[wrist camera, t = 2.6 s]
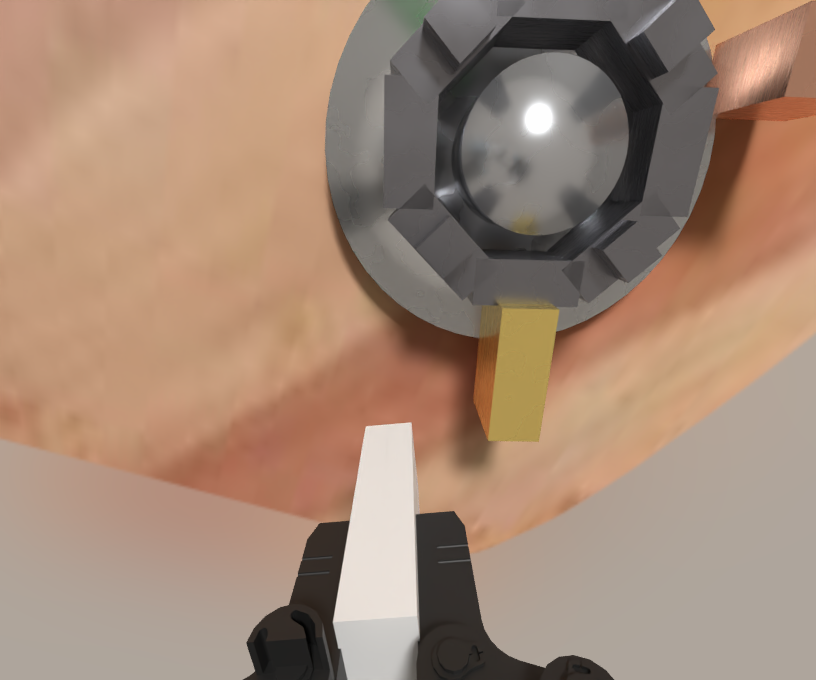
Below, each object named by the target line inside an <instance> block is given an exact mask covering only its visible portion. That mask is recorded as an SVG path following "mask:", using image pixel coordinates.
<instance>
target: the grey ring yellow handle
mask: <svg viewBox="0 0 816 680" xmlns="http://www.w3.org/2000/svg"><path fill="white" fill-rule="evenodd" d="M714 30H715V29H714V27H713V25H712V23H711V21H710V20H709V18H708V16H707V14H706V13H705V11H704V9H703V7H702V6H701V4H700V2H699V0H439V1H438V2H437V3H436V4H435V5H434V6H433V7H432V9H431V10H430V11H429V12H428V13H427V14H426V15H425V16H424V21H423V24H422V25H421V26H420V27H419V28H418V29H417V30H416V31H415V32H414V34H413V35H412V36H411V37H410V38H409V39H408V40H407V41H406V42H405V44H404V45H403V46H402V47H401V48H400V49H399V50H398V51H397V52H396V54H395V55H394V56H393V57H392V58H391V59H390V71H391V75H384V185H383V208H397V209H396V210H395V211H394V212H393V213H392V214H391V215H390V216H389V218H388V221H389V222H390V223H391V224H392V225H393V226H394V227H395V228H396V230H397V231H398V232H399V233H400V234H401V235H402V236H403V237H404V238H405V239H406V240H407V241H408V243H409V244H410V245H411V246H412V247H413V248H414V249H415V250H416V251H417V252H418V253H419V254H420V255H421V257H422V258H423V259H424V260H425V261H426V262H427V263H428V264H429V265H430V266H431V267H432V268H433V270H434V271H435V272H436V273H437V274H438V275H439V276H440V277H441V278H442V279H443V280H444V281H445V282H446V284H447V285H448V286H449V287H450V288H451V289H452V290H453V291H454V292H455V293H456V294H457V295H458V297H459V298H460V299H461V300H462V301H463V300H464V299H465V298H466V297H468V299H469V300H470V302H471V303H472V305H482V311H481V322H480V333H479V344H478V354H477V365H476V376H475V387H474V398H473V401H474V404H475V407H476V409H477V412H478V415H479V418H480V420H481V423H482V426H483V429H484V431H485V434H486V437H487V440H488V441H533V442H539V437H540V431H541V424H542V418H543V412H544V405H545V399H546V393H547V386H548V380H549V374H550V367H551V361H552V354H553V348H554V342H555V335H556V329H557V323H558V316H559V309H558V308H557V307H578V301H579V298H580V299H581V300H583V301H585V302H587V303H588V304H589V303H590V302H591V301H592V300H594V299H595V298H596V297H597V296H598V295H600V294H601V293H602V292H603V291H605V290H606V289H607V288H608V287H609V286H611V285H612V284H613V283H614V282H616V281H617V280H618V279H619V280H621V281H624V282H626V283H629V282H630V281H632V280H633V279H634V278H635V277H637V276H638V275H639V274H640V273H642V272H643V271H644V270H645V269H647V268H648V267H649V266H650V265H651V264H653V263H654V262H655V261H656V260H658V259H659V258H660V257H661V256H662V255H661V253H660V252H659V250H658V249H657V247H658V246H660V245H661V244H662V243H663V242H665V241H666V240H667V239H668V238H669V237H671V236H672V235H673V234H674V233H676V232H677V231H678V230H679V229H680V227H679V226H678V225H677V223H676V222H675V220H674V219H673V217H688V214H689V209H690V205H691V201H692V197H693V193H694V189H695V185H696V181H697V177H698V173H699V169H700V165H701V161H702V157H703V153H704V148H705V144H706V140H707V136H708V132H709V128H710V124H711V120H712V116H713V112H714V108H715V104H716V100H717V96H718V92H719V88H711V87H703V86H704V85H705V84H706V83H708V82H709V81H710V80H711V79H712V78H713V77H714V76H715V75H717V74H718V72H717V71H716V69H715V67H714V66H713V64H712V62H711V60H710V59H709V57H708V55H707V53H706V52H705V50H704V48H703V47H702V45H701V42H702V41H703V40H704V39H705V38H706V37H707V36H709V35H710V34H711V33H712V32H713V31H714ZM493 47H503V48H526V49H550V50H574V51H575V52H576V53H577V55H578V56H579V57H581V58H583V59H586V60H588V61H590V62H591V63H593V64H594V65H596V66H597V67H599V68H600V69H601V70H602V71H603V72H604V73H605V74H606V75H607V76H608V77H609V78H610V79H611V81H612V82H613V83H614V85H615V86H616V88H617V90H618V92H619V93H620V95H621V98H622V100H623V103H624V106H625V110H626V114H627V118H628V127H629V141H628V149H627V155H626V159H625V163H624V166H623V169H622V172H621V174H620V177H619V179H618V181H617V183H616V185H615V187H614V188H613V190H612V191H611V193H610V194H609V196H608V197H607V198H606V200H605V201H604V202H603V203H602V205H601V206H600V207H599V208H598V209H597V210H596V211H595V212H593V213H592V214H591V215H590V216H589V217H587V218H586V219H585V220H583V221H582V222H580V223H578V224H577V225H576V226H575V227H573V228H572V229H571V230H570V231H569V232H568V233H567V234H565V235H564V236H563V237H562V238H561V239H560V240H559V241H557V242H556V243H555V244H554V245H553V246H552V247H551V248H549V249H548V250H547V251H528V250H491V249H481V248H480V247H479V246H478V245H477V244H476V243H475V241H474V240H473V239H472V238H471V237H470V236H469V235H468V233H467V232H466V231H465V230H464V229H463V228H462V226H461V225H460V224H459V223H458V222H457V221H456V220H455V218H454V217H453V216H452V215H451V214H450V213H449V212H448V210H447V209H446V208H445V207H444V206H443V205H442V203H441V202H440V201H439V200H438V199H437V198H436V197H435V195H434V185H435V164H436V143H437V122H438V104H439V103H440V102H441V101H442V100H443V99H444V98H445V97H446V95H447V94H448V93H449V92H450V91H451V90H452V89H453V88H454V87H455V86H456V85H457V84H458V83H459V82H460V81H461V80H462V79H463V78H464V77H465V76H466V75H467V74H468V73H469V71H470V70H471V69H472V68H473V67H474V66H475V65H476V64H477V63H478V62H479V61H480V60H481V59H482V58H483V57H484V56H485V55H486V54H487V53H488V52H489V51H490V50H491V49H492V48H493Z"/></svg>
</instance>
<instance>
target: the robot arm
mask: <svg viewBox="0 0 816 680" xmlns="http://www.w3.org/2000/svg"><path fill="white" fill-rule="evenodd" d="M247 646H248V650H249V653H250V656H251V659H252V662H253V665H254V668H255V672H254V673H253V674H252V675H250V676H249V677H247V678H245V679H243V680H614V679H613V678H612V677H611V676H610V675H609V673H608V672H607V671H606V670H604V669H603V668H602V667H600V666H599V665H597V664H596V663H594V662H593V661H591V660H589V659H585V658H582V657H578V656H574V655H571V656H563V657H558V658H556V659H555V660H554V661H552V662H551V663H549V664H548V665H547V666H546V668H543V667H540V666H537V665H533V664H530V663H526V662H523V661H519V660H517V659H514V658H512V657H510V656H508V655H507V654H505V653H504V652H502V651H501V650H500V649H498V648H497V647H496V645H495V644H494V643H493V642H492V641H491V640H490V638H489V637H488V635H487V633H486V632H485V630H484V626H483V623H482V620H481V614H480V609H479V603H478V598H477V592H476V587H475V581H474V575H473V570H472V565H471V559H470V553H469V548H468V542H467V537H466V531H465V526H464V524H463V523H462V522H461V520H460V519H459V518H458V516H457V515H456V514H455V512H454V511H450V512H438V513H425V514H420V512H419V491H418V481H417V471H416V462H415V452H414V442H413V433H412V423H400V424H388V425H377V426H366V429H365V435H364V440H363V446H362V452H361V458H360V464H359V470H358V476H357V482H356V488H355V494H354V500H353V506H352V512H351V518H350V521H342V522H329V523H320V524H319V525H318V526H317V528H316V529H315V530H314V532H313V533H312V534H311V535H310V537H309V538H308V539H307V543H306V547H305V550H304V554H303V558H302V561H301V565H300V568H299V571H298V577H297V579H296V582H295V586H294V589H293V593H292V596H291V600H290V603H289V605H288V606H284V607H280V608H278V609H277V610H275V611H273V612H272V613H270V614H268V615H267V616H265V618H263V619H262V620H261V622H260V623H259V624H258V625H257V626H256V627H255V628H254V629H253V632H252V633H251V635H250V637H249V639H248V641H247Z"/></svg>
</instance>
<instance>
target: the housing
mask: <svg viewBox="0 0 816 680" xmlns="http://www.w3.org/2000/svg"><path fill="white" fill-rule="evenodd" d="M438 1H439V0H371V1H370V2H369V3H368V5H367V6H366V7H365V9H364V11H363V12H362V14H361V16H360V18H359V20H358V21H357V23H356V25H355V27H354V29H353V30H352V32H351V34H350V36H349V38H348V41H347V43H346V46H345V48H344V51H343V53H342V55H341V58H340V60H339V63H338V66H337V70H336V73H335V77H334V81H333V84H332V88H331V92H330V97H329V104H328V111H327V118H326V137H325V155H326V165H327V176H328V182H329V186H330V191H331V196H332V200H333V205H334V208H335V210H336V213H337V216H338V219H339V222H340V225H341V227H342V230H343V232H344V234H345V236H346V238H347V240H348V242H349V244H350V246H351V248H352V250H353V252H354V253H355V255H356V256H357V258H358V259H359V261H360V262H361V264H362V265H363V267H364V268H365V270H366V271H367V273H368V274H369V275H370V276H371V277H372V278H373V279H374V281H375V282H376V283H377V284H378V285H379V286H380V288H381V289H382V290H383V291H385V292H386V293H387V294H388V295H389V296H390V297H391V298H392V299H394V300H395V301H396V302H397V303H398V304H399V305H401V306H402V307H404V308H405V309H407V310H408V311H410V312H411V313H413V314H414V315H416V316H417V317H419V318H421V319H423V320H425V321H427V322H429V323H431V324H433V325H435V326H437V327H440V328H442V329H445V330H448V331H451V332H454V333H457V334H461V335H466V336H470V337H475V338H479V333H480V322H481V311H482V305H472V303H471V302H470V300H469V299H468V297H466V298H465V299H464V300H463V301H462V300H461V299H460V298H459V297H458V295H457V294H456V293H455V292H454V291H453V290H452V289H451V288H450V287H449V286H448V285H447V284H446V282H445V281H444V280H443V279H442V278H441V277H440V276H439V275H438V274H437V273H436V272H435V271H434V270H433V268H432V267H431V266H430V265H429V264H428V263H427V262H426V261H425V260H424V259H423V258H422V257H421V255H420V254H419V253H418V252H417V251H416V250H415V249H414V248H413V247H412V246H411V245H410V244H409V243H408V241H407V240H406V239H405V238H404V237H403V236H402V235H401V234H400V233H399V232H398V231H397V230H396V228H395V227H394V226H393V225H392V224H391V223H390V222H389V221H388V218H389V216H390V215H391V214H392V213H393V212H394V211H395V210H396V209H397V208H383V185H384V75H391V71H390V59H391V58H392V57H393V56H394V55H395V54H396V52H397V51H398V50H399V49H400V48H401V47H402V46H403V45H404V44H405V42H406V41H407V40H408V39H409V38H410V37H411V36H412V35H413V34H414V32H415V31H416V30H417V29H418V28H419V27H420V26H421V25H422V24H423V21H424V16H425V15H426V14H427V13H428V12H429V11H430V10H431V9H432V7H433V6H434V5H435V4H436V3H437V2H438ZM701 45H702V47H703V48H704V50H705V52H706V53H707V55H708V57H709V59H710V60H711V62H712V56H711V50H710V47H709V44H708V41H707V38H705V39H704V40H703V41H702V42H701ZM712 64H713V66H714V67H715V69H716V71H717V72H718V74H717V75H715V76H714V77H713V78H712V79H711V80H710V81H709V82H708V83H706V84H705V85H704V86H703V87H711V88H719V92H718V96H717V100H716V104H715V108H714V112H713V116H712V120H711V124H710V128H709V132H708V136H707V140H706V144H705V148H704V153H703V157H702V161H701V165H700V169H699V173H698V177H697V181H696V185H695V189H694V193H693V197H692V201H691V205H690V209H689V214H688V217H673V219H674V220H675V222H676V223H677V225H678V226H679V227H680V229H679V230H678V231H677V232H676V233H674V234H673V235H672V236H671V237H669V238H668V239H667V240H666V241H665V242H663V243H662V244H661V245H660V246H658V247H657V249H658V250H659V252H660V253H661V255H662V256H661V257H660V258H659V259H658V260H656V261H655V262H654V263H653V264H651V265H650V266H649V267H648V268H647V269H645V270H644V271H643V272H642V273H640V274H639V275H638V276H637V277H635V278H634V279H633V280H632V281H630V282H629V283H626V282H624V281H621V280H619V279H618V280H617V281H616V282H614V283H613V284H612V285H611V286H609V287H608V288H607V289H606V290H605V291H603V292H602V293H601V294H600V295H598V296H597V297H596V298H595V299H594V300H592V301H591V302H590V303H589V304H588V303H587V302H585V301H583V300H581V299H580V298H579V301H578V307H557V308H558V309H559V316H558V323H557V329H556V332H557V331H561V330H564V329H567V328H569V327H572V326H574V325H576V324H579V323H581V322H583V321H586V320H588V319H589V318H591V317H593V316H595V315H597V314H598V313H600V312H602V311H604V310H606V309H607V308H609V307H610V306H611V305H613V304H614V303H616V302H617V301H618V300H620V299H621V298H623V297H624V296H625V295H627V294H628V293H629V292H630V291H631V290H632V289H633V288H634V287H636V286H637V285H638V284H639V283H640V282H641V281H642V280H643V279H645V277H646V276H647V275H648V274H649V273H650V272H651V271H652V270H653V269H654V267H655V266H656V265H657V264H658V263H659V262H660V261H661V260H662V258H663V257H664V256H665V254H666V253H667V251H668V250H669V249H670V247H671V246H672V245H673V243H674V242H675V240H676V239H677V237H678V236H679V234H680V232H681V230H682V229H683V227H684V225H685V223H686V222H687V220H688V218H689V216H690V214H691V212H692V210H693V208H694V205H695V203H696V201H697V198H698V196H699V194H700V192H701V189H702V186H703V182H704V179H705V176H706V173H707V170H708V166H709V163H710V158H711V152H712V147H713V142H714V137H715V124H716V119H743V120H770V121H788V120H793V119H798V118H804V117H809V116H815V115H816V1H811V2H808V3H806V4H804V5H802V6H800V7H798V8H795V9H793V10H791V11H789V12H787V13H785V14H783V15H780V16H778V17H776V18H774V19H772V20H770V21H767V22H765V23H763V24H761V25H759V26H757V27H755V28H752V29H750V30H748V31H746V32H744V33H742V34H739V35H737V36H735V37H733V38H731V39H729V40H727V41H724V42H722V43H720V44H718V45H716V49H715V53H714V58H713V62H712ZM628 141H629V127H628V118H627V114H626V110H625V106H624V103H623V100H622V98H621V95H620V93H619V92H618V90H617V88H616V86H615V85H614V83H613V82H612V81H611V79H610V78H609V77H608V76H607V75H606V74H605V73H604V72H603V71H602V70H601V69H600V68H599V67H597V66H596V65H594V64H593V63H591V62H590V61H588V60H586V59H583V58H581V57H579V56H578V55H577V53H576V52H575V51H574V50H550V49H526V48H503V47H493V48H492V49H491V50H490V51H489V52H488V53H487V54H486V55H485V56H484V57H483V58H482V59H481V60H480V61H479V62H478V63H477V64H476V65H475V66H474V67H473V68H472V69H471V70H470V71H469V73H468V74H467V75H466V76H465V77H464V78H463V79H462V80H461V81H460V82H459V83H458V84H457V85H456V86H455V87H454V88H453V89H452V90H451V91H450V92H449V93H448V94H447V95H446V97H445V98H444V99H443V100H442V101H441V102H440V103H439V104H438V122H437V143H436V164H435V185H434V195H435V197H436V198H437V199H438V200H439V201H440V202H441V203H442V205H443V206H444V207H445V208H446V209H447V210H448V212H449V213H450V214H451V215H452V216H453V217H454V218H455V220H456V221H457V222H458V223H459V224H460V225H461V226H462V228H463V229H464V230H465V231H466V232H467V233H468V235H469V236H470V237H471V238H472V239H473V240H474V241H475V243H476V244H477V245H478V246H479V247H480V248H481V249H491V250H528V251H547V250H548V249H549V248H551V247H552V246H553V245H554V244H555V243H556V242H557V241H559V240H560V239H561V238H562V237H563V236H564V235H565V234H567V233H568V232H569V231H570V230H571V229H572V228H573V227H575V226H576V225H577V224H578V223H580V222H582V221H583V220H585V219H586V218H587V217H589V216H590V215H591V214H592V213H593V212H595V211H596V210H597V209H598V208H599V207H600V206H601V205H602V203H603V202H604V201H605V200H606V198H607V197H608V196H609V194H610V193H611V191H612V190H613V188H614V187H615V185H616V183H617V181H618V179H619V177H620V174H621V172H622V169H623V166H624V163H625V159H626V155H627V149H628Z"/></svg>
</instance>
